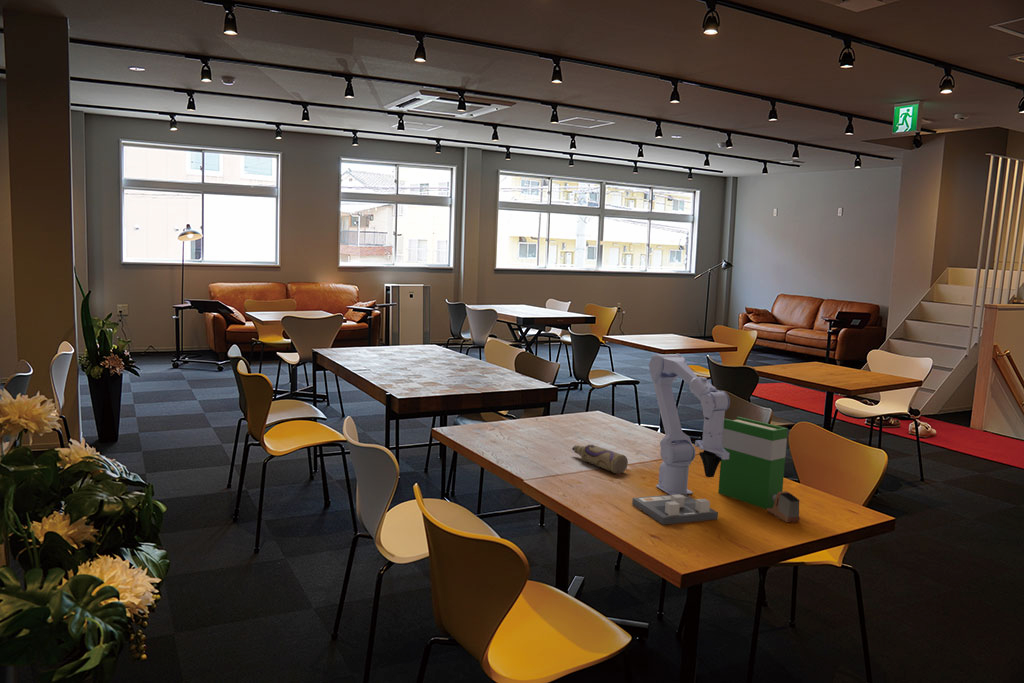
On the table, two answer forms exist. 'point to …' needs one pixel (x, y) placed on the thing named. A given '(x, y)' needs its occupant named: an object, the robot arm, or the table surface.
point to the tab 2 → (702, 505)
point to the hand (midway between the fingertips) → (709, 476)
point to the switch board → (686, 514)
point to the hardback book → (753, 461)
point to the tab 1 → (672, 508)
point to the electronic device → (785, 507)
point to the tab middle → (678, 499)
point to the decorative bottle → (602, 458)
